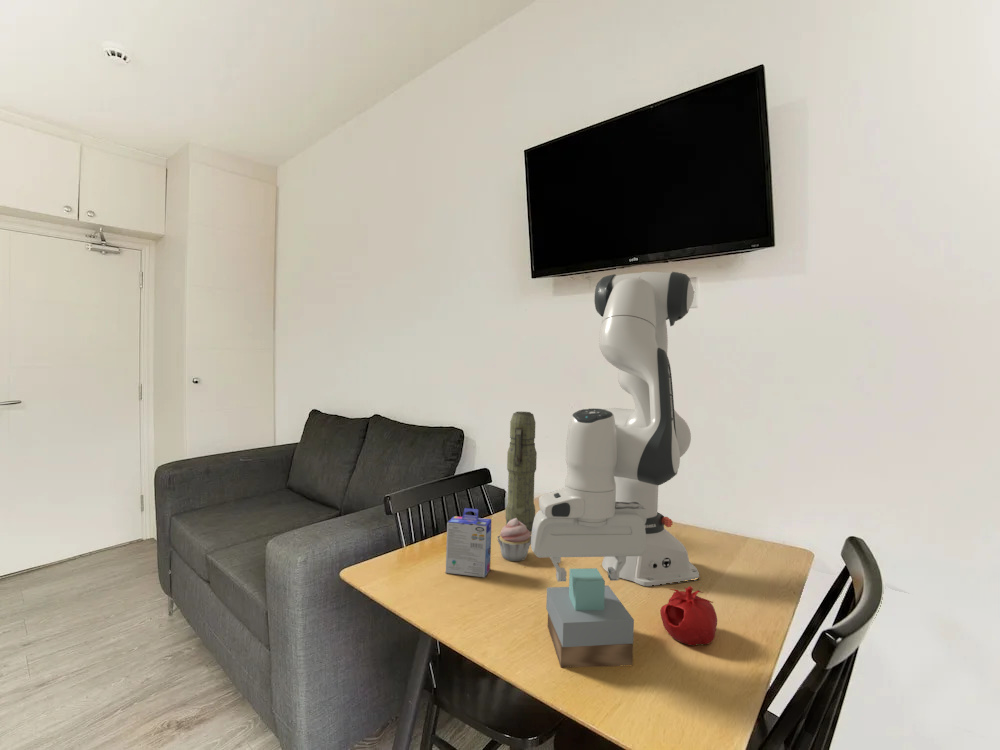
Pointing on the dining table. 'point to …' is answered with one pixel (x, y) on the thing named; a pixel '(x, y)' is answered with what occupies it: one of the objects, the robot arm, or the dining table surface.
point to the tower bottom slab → (591, 653)
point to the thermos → (521, 469)
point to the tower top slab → (589, 620)
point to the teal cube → (586, 589)
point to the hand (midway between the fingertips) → (587, 579)
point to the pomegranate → (689, 617)
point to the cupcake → (514, 541)
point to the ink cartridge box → (468, 545)
